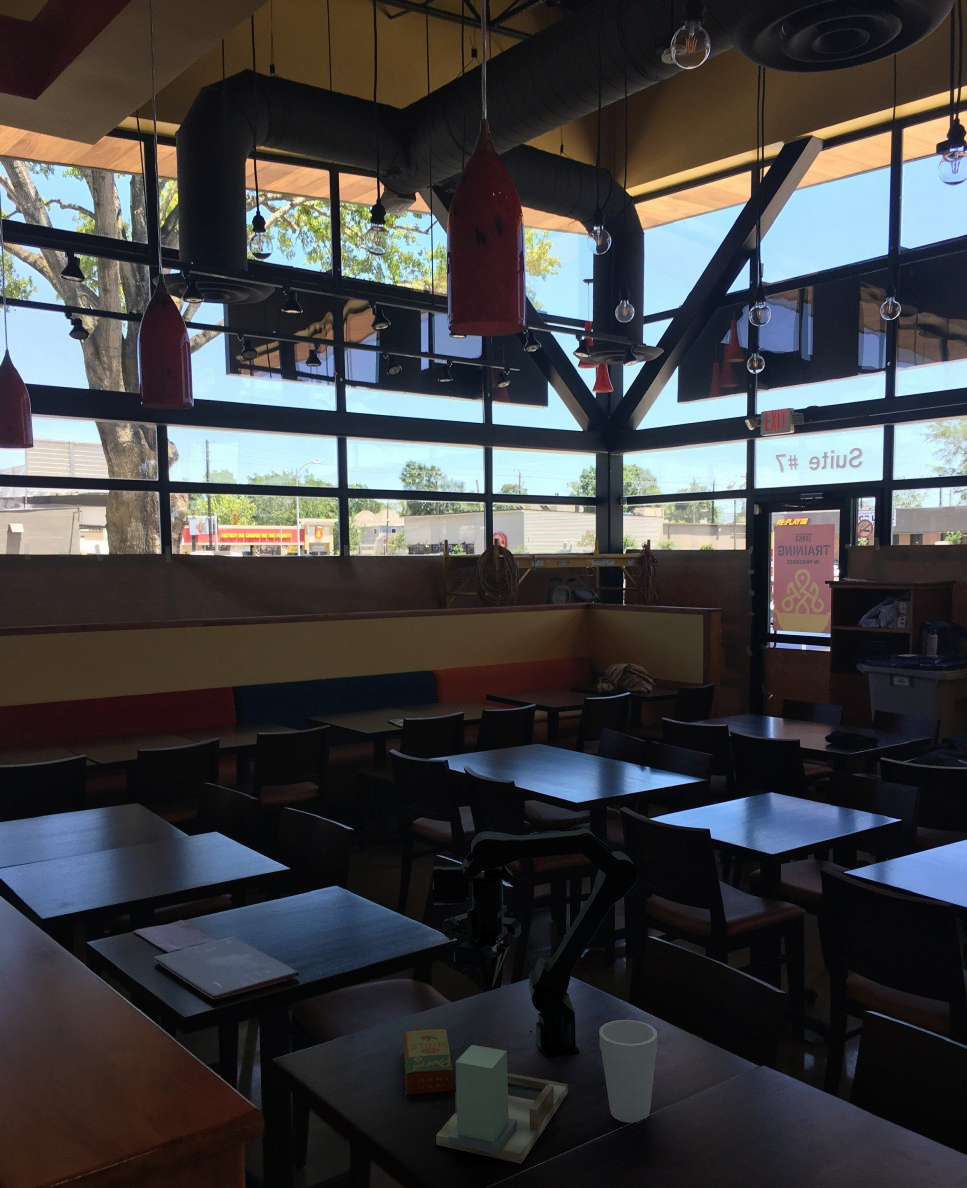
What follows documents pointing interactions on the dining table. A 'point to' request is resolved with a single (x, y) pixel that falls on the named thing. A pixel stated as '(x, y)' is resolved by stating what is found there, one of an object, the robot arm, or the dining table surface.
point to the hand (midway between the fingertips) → (489, 986)
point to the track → (518, 1116)
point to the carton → (427, 1061)
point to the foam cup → (629, 1067)
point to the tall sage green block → (482, 1100)
